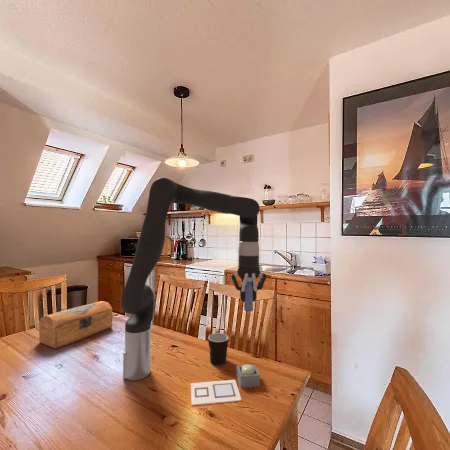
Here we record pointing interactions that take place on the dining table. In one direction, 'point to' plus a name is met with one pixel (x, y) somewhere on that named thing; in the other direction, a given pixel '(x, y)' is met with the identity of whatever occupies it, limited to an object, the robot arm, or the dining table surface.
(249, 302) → the marker
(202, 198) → the robot arm
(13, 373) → the dining table surface
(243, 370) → the button
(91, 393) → the dining table surface
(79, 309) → the wooden box
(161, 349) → the dining table surface
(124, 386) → the dining table surface
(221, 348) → the coffee mug
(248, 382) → the button housing
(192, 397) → the sheet
